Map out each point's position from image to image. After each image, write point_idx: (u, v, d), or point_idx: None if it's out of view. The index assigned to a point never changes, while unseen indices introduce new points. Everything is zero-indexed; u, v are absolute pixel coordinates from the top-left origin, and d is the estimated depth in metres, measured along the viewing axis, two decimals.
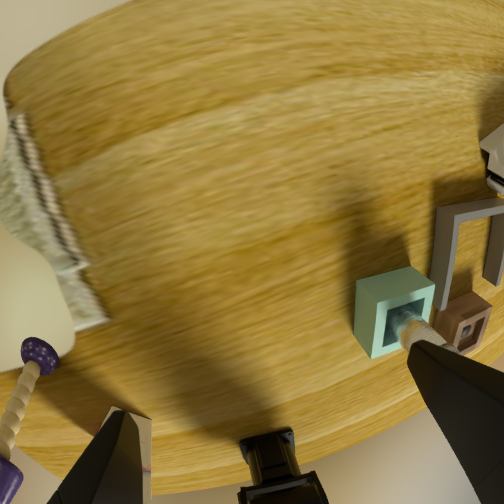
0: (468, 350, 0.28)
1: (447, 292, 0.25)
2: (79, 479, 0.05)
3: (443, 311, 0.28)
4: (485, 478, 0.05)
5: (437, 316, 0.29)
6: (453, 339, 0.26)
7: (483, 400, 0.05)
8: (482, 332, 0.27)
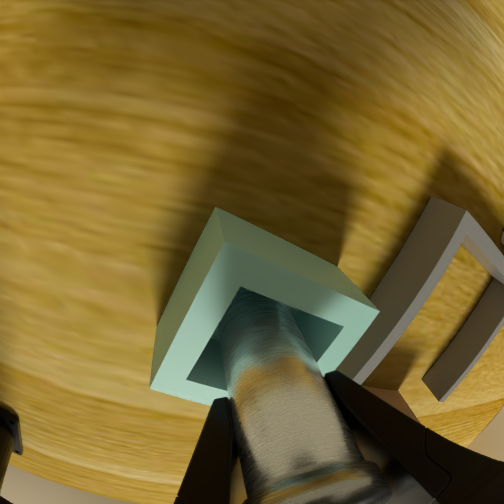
0: None
1: (378, 358, 0.13)
2: (204, 478, 0.05)
3: None
4: None
5: None
6: None
7: (387, 453, 0.05)
8: None
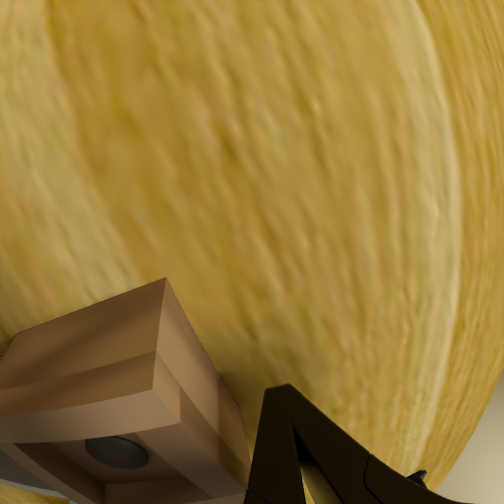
0: (190, 458, 0.05)
1: None
2: (273, 466, 0.05)
3: None
4: None
5: None
6: None
7: (327, 476, 0.05)
8: (64, 424, 0.04)
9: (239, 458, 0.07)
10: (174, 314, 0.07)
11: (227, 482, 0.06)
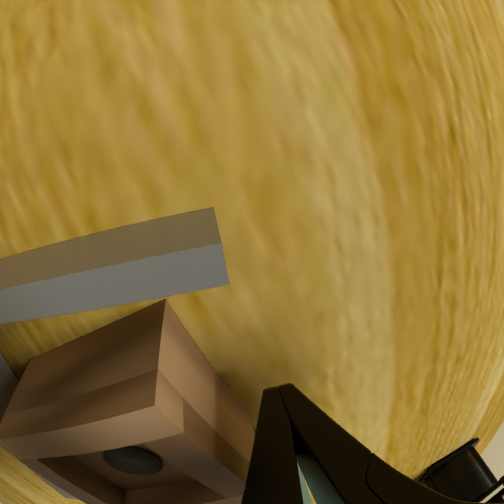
0: (198, 463, 0.06)
1: None
2: (271, 467, 0.05)
3: None
4: None
5: None
6: None
7: (329, 476, 0.05)
8: (81, 439, 0.05)
9: (247, 459, 0.08)
10: (176, 329, 0.08)
11: (235, 483, 0.06)
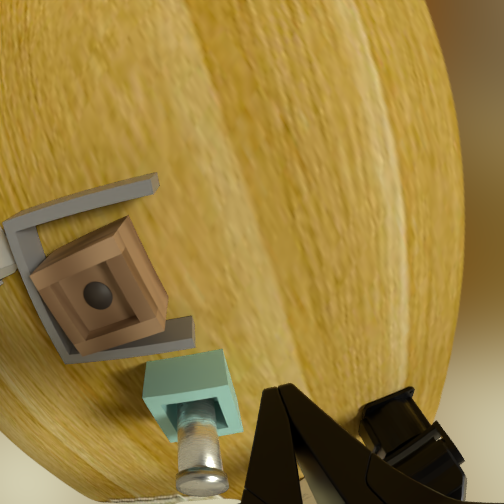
0: (126, 279, 0.15)
1: (162, 346, 0.18)
2: (270, 467, 0.05)
3: None
4: None
5: None
6: None
7: (329, 475, 0.05)
8: (79, 261, 0.14)
9: (155, 302, 0.17)
10: (130, 227, 0.17)
11: (143, 304, 0.15)
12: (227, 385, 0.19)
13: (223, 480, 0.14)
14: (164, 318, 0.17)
